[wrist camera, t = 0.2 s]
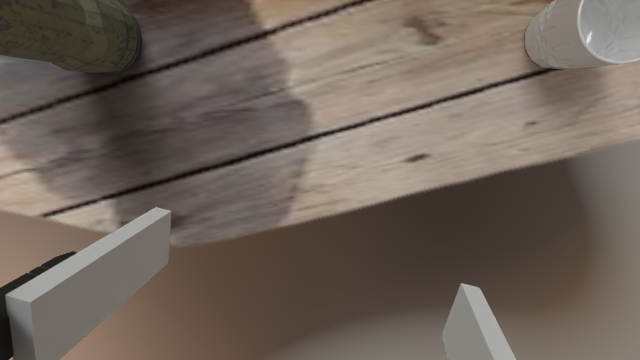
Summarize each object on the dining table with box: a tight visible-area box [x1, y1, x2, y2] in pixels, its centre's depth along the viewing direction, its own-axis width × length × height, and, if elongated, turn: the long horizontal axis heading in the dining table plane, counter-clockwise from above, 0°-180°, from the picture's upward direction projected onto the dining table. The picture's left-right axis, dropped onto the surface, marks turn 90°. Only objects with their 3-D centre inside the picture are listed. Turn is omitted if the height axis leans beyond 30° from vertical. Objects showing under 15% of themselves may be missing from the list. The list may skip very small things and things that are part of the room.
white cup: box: [525, 0, 640, 69], centre depth 31 cm, size 8×8×10 cm
